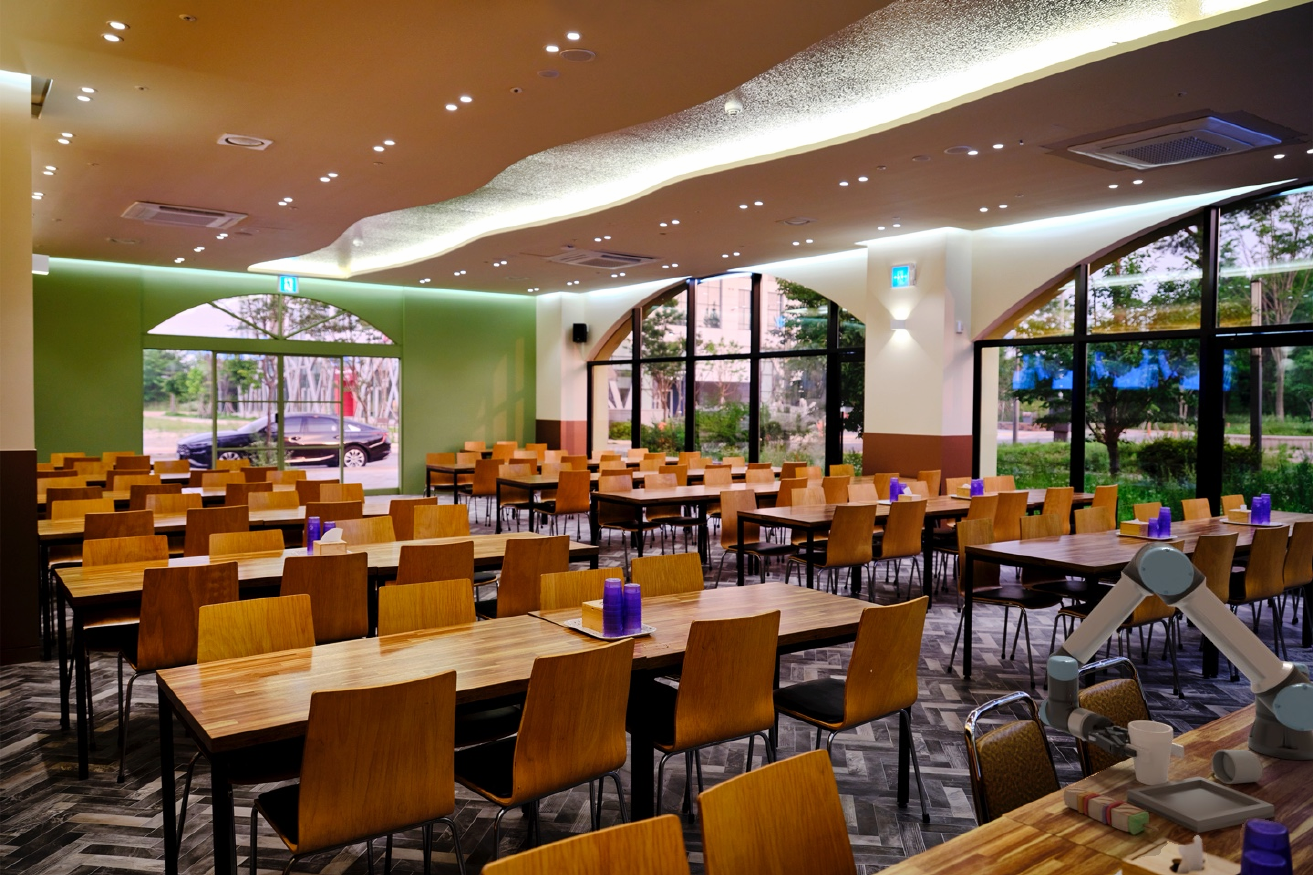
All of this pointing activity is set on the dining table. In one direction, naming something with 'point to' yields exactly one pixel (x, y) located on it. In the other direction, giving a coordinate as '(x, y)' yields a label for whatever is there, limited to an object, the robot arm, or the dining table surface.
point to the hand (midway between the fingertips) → (1166, 755)
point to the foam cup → (1152, 750)
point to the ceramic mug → (1236, 766)
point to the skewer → (1108, 810)
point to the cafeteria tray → (1199, 804)
